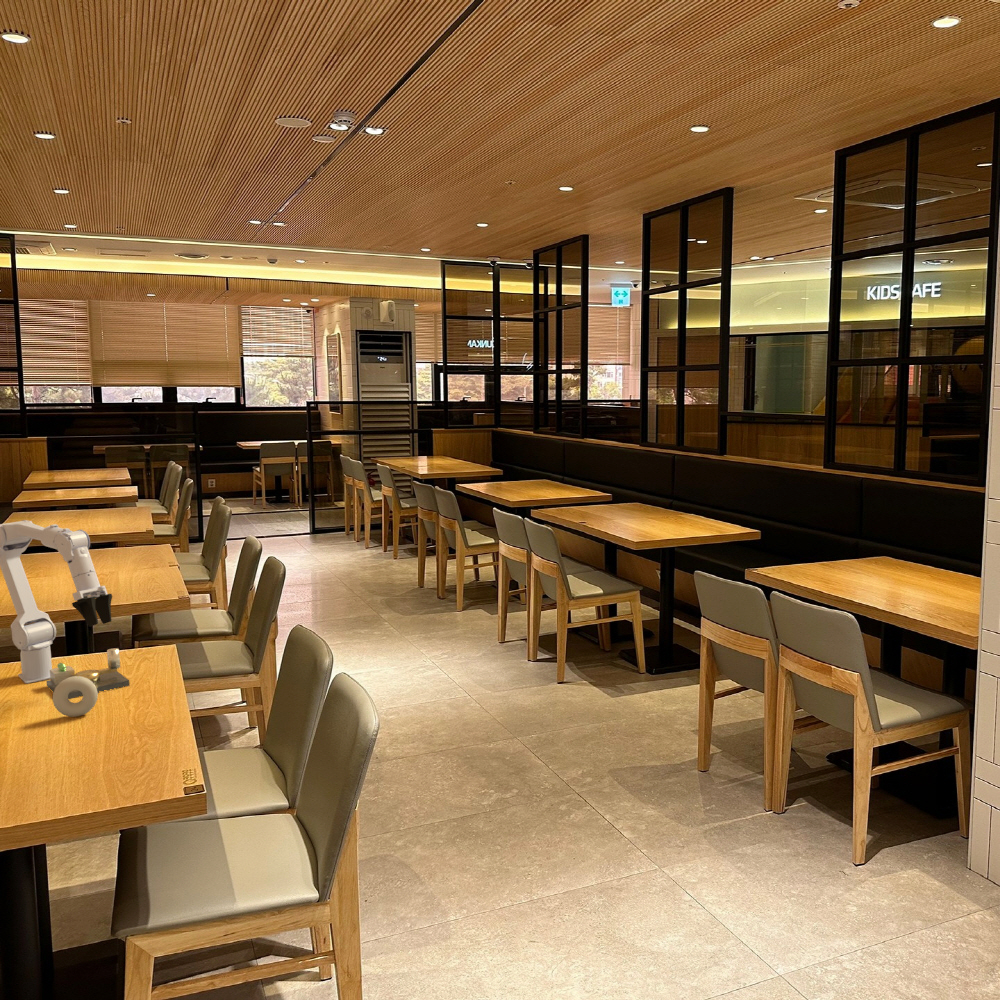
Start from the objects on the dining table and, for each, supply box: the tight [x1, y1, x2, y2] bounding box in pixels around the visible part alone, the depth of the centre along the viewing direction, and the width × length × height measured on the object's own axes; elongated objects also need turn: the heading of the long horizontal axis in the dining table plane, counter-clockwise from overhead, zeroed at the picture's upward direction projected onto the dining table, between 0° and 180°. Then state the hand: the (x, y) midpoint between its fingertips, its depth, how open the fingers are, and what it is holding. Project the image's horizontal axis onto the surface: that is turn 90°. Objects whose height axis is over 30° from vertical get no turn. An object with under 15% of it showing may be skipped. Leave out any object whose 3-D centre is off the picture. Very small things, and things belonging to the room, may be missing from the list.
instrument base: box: [46, 662, 130, 699], centre depth 240 cm, size 15×17×6 cm
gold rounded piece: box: [75, 647, 121, 682], centre depth 241 cm, size 12×6×7 cm, turn 129°
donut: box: [52, 676, 99, 718], centre depth 217 cm, size 10×4×10 cm, turn 113°
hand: (100, 623), depth 234 cm, fingers open, 7 cm apart
